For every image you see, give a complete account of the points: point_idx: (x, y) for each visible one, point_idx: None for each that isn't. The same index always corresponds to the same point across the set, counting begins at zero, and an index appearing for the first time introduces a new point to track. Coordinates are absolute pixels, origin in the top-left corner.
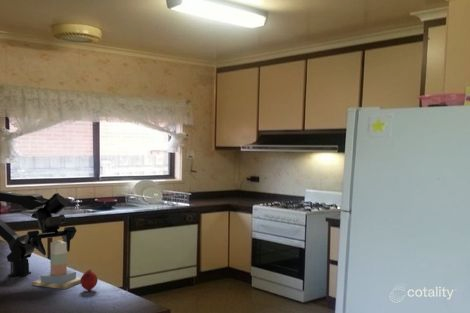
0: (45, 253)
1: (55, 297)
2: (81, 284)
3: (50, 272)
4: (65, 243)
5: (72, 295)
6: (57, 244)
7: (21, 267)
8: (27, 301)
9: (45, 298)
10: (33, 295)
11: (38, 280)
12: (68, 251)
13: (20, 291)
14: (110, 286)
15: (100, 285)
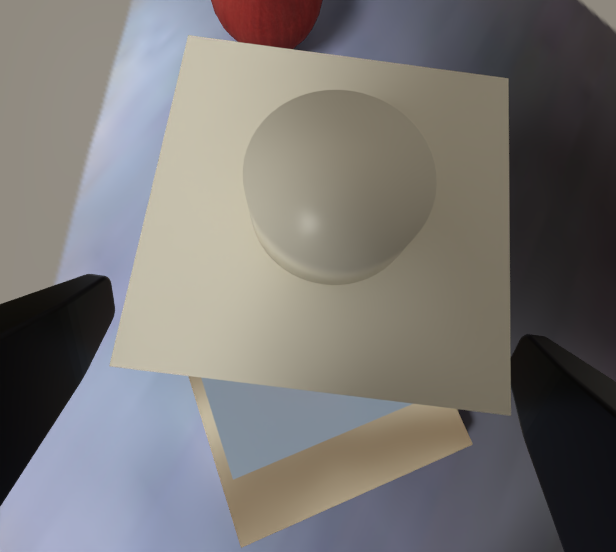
0: (535, 336)
1: None
2: (318, 13)
3: (330, 426)
4: (223, 52)
5: (379, 49)
6: (438, 81)
7: None
8: (603, 138)
9: (510, 111)
10: (542, 209)
11: (419, 446)
12: (110, 301)
13: (578, 353)
14: (135, 23)
15: (157, 78)
